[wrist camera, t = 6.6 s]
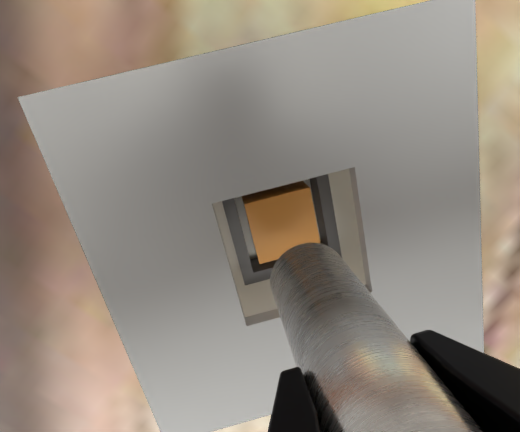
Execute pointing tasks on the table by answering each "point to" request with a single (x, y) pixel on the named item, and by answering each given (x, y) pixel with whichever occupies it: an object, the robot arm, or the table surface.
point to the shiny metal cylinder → (356, 352)
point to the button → (281, 219)
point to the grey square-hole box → (267, 177)
